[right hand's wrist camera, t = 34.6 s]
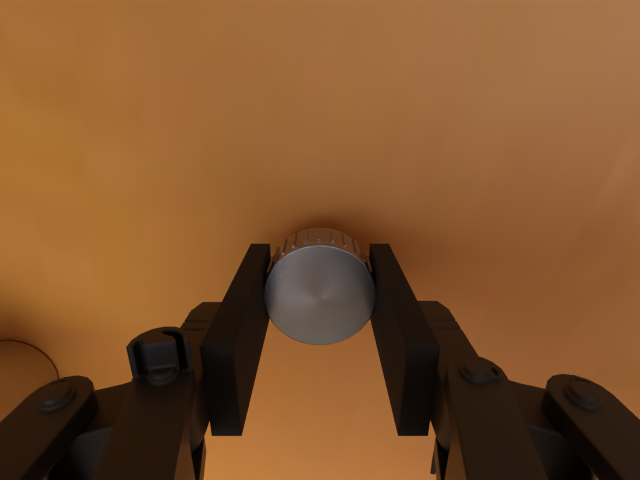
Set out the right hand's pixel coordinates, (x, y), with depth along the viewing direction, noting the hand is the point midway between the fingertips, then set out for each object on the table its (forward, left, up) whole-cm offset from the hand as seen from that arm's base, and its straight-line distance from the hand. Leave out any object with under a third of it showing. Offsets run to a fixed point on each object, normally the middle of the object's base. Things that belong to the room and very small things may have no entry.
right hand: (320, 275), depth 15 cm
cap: (0, 0, +2) cm, 2 cm away
